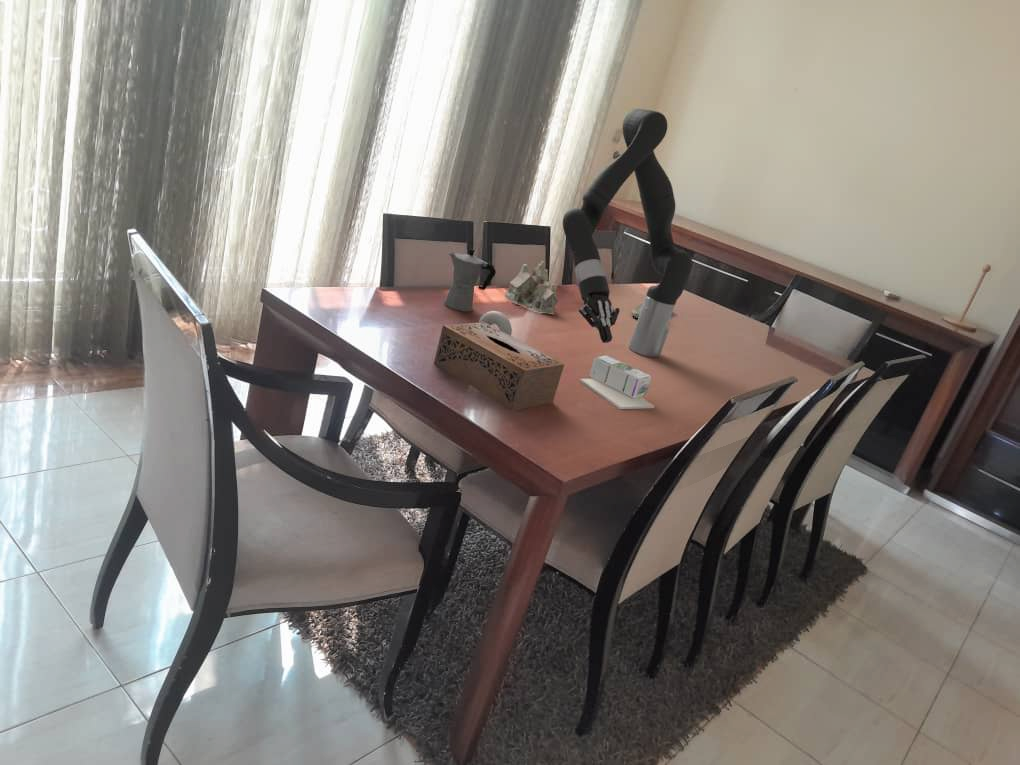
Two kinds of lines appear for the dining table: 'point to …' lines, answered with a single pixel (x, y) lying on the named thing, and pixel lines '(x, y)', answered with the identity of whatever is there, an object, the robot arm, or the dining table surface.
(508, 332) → the donut
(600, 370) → the syrup box
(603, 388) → the mat
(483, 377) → the tissue box cover
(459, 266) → the coffeepot
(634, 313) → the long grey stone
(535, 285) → the ceramic cottage
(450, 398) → the dining table surface
